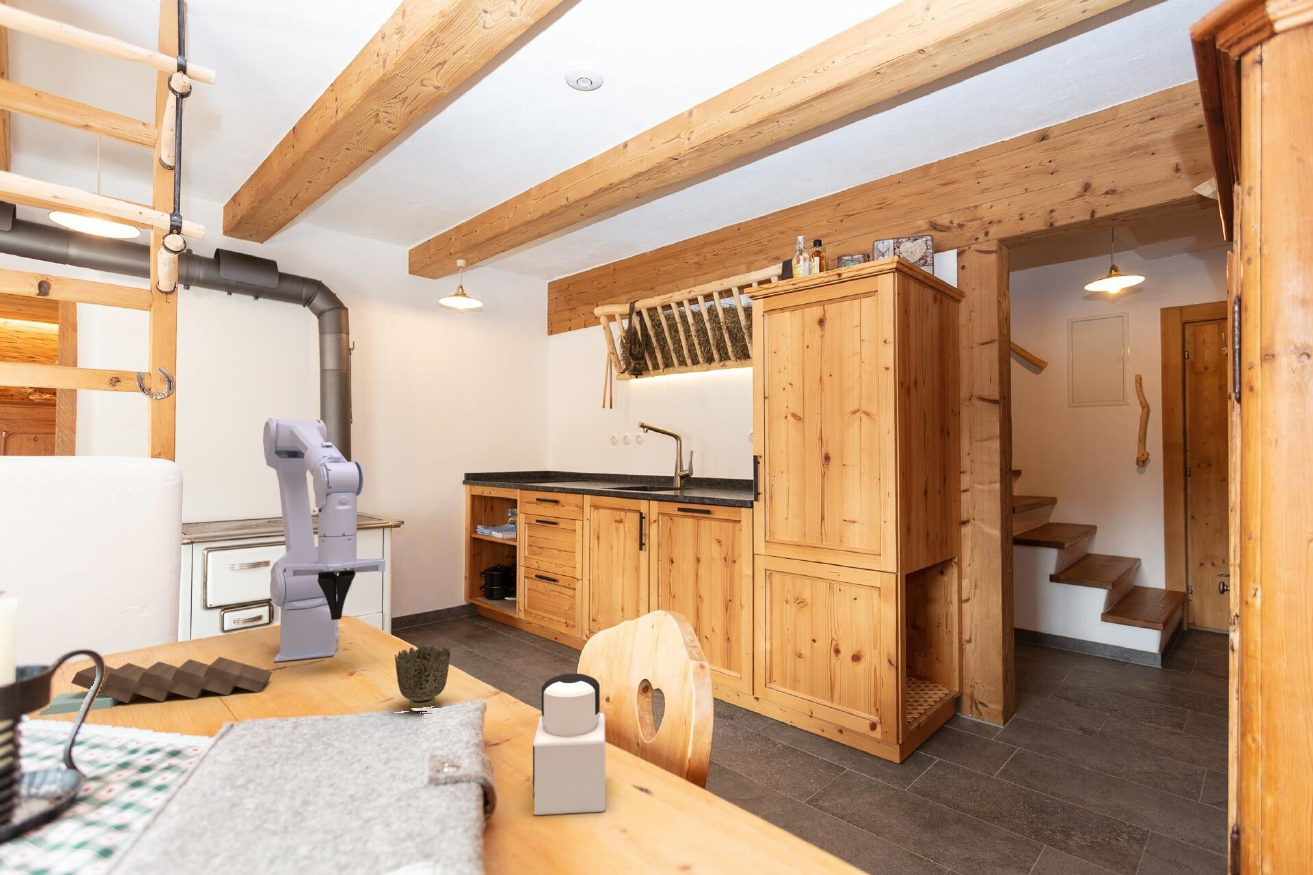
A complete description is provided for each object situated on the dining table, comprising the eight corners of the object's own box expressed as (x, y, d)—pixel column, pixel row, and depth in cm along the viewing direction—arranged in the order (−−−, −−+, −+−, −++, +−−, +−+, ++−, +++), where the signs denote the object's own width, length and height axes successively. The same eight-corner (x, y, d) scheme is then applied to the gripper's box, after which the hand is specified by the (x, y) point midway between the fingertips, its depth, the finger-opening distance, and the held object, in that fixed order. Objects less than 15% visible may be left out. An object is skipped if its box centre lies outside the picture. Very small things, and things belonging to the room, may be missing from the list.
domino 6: (272, 672, 102) (219, 656, 100) (264, 682, 97) (208, 666, 95) (267, 681, 102) (214, 666, 100) (259, 692, 97) (203, 676, 95)
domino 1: (126, 687, 96) (61, 693, 94) (110, 699, 91) (40, 705, 89) (126, 698, 96) (60, 704, 94) (110, 710, 91) (40, 717, 89)
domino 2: (153, 682, 97) (100, 663, 96) (133, 692, 93) (77, 672, 91) (147, 692, 97) (94, 673, 96) (127, 702, 92) (70, 682, 91)
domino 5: (243, 674, 101) (189, 659, 99) (233, 685, 96) (176, 668, 94) (238, 684, 101) (184, 669, 98) (228, 695, 96) (171, 679, 94)
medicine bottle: (539, 780, 70) (539, 669, 70) (605, 777, 70) (604, 666, 71) (532, 816, 62) (532, 692, 63) (605, 812, 63) (605, 689, 64)
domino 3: (183, 680, 98) (128, 662, 97) (168, 690, 94) (110, 672, 92) (178, 690, 98) (122, 672, 96) (162, 701, 93) (104, 683, 92)
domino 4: (213, 677, 100) (158, 661, 98) (201, 688, 95) (143, 671, 93) (208, 687, 99) (153, 671, 97) (196, 698, 95) (137, 681, 93)
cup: (382, 714, 88) (382, 656, 88) (419, 696, 95) (419, 642, 95) (426, 722, 85) (426, 661, 86) (461, 702, 92) (461, 646, 93)
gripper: (282, 539, 99) (281, 628, 98) (384, 535, 104) (383, 619, 103) (290, 535, 105) (289, 618, 105) (385, 531, 111) (385, 610, 110)
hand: (336, 618), depth 105 cm, fingers closed
